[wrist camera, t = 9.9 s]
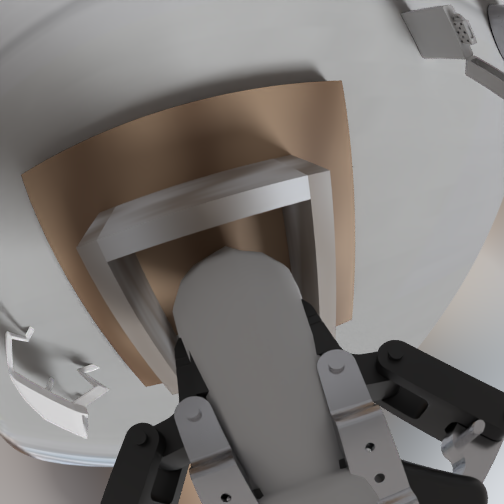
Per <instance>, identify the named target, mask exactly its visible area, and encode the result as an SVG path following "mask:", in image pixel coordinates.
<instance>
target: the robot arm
mask: <svg viewBox="0 0 504 504" xmlns="http://www.w3.org/2000/svg"><path fill="white" fill-rule="evenodd" d="M488 15H489V21H490V25H491V28H492V32H493V35H494V38H495V41H496V43H497V46H498V48H499V50H500V53H501V55H502V56H503V58H504V5H489V7H488ZM301 301H302V304H303V307H304V310H305V313H306V317H307V320H308V323H309V326H310V328H311V331H312V334H313V338H314V343H315V349H316V354H317V355H320V358H319V360H318V363H317V371H318V374H319V378H320V381H321V384H322V388H323V391H324V395H325V399H326V402H327V406H328V409H329V413H330V416H331V420H332V424H333V427H334V431H335V435H336V439H337V442H338V446H339V449H340V451H341V453H342V456H343V458H342V459H340V460H339V466H340V469H343V468H346V469H347V470H349V471H350V473H351V474H353V475H357V476H360V477H364V478H365V479H366V480H367V482H368V483H369V484H370V485H371V486H372V488H373V489H374V491H375V492H376V494H377V495H378V497H379V501H378V502H377V504H487V502H488V496H487V491H486V488H485V486H484V485H483V481H484V479H485V477H486V476H487V474H488V472H489V470H490V468H491V466H492V464H493V462H494V460H495V458H496V456H497V453H498V451H499V449H500V447H501V444H502V442H503V440H504V392H502V391H500V390H498V389H496V388H494V387H492V386H490V385H488V384H486V383H484V382H482V381H480V380H478V379H476V378H474V377H472V376H470V375H468V374H466V373H464V372H462V371H460V370H458V369H456V368H454V367H452V366H450V365H448V364H446V363H444V362H442V361H440V360H438V359H436V358H434V357H432V356H430V355H428V354H426V353H424V352H422V351H420V350H419V349H417V348H415V347H413V346H411V345H409V344H407V343H405V342H403V341H399V340H391V341H388V342H386V343H384V344H383V345H382V346H381V347H380V348H379V350H378V352H373V353H367V354H360V355H358V354H351V353H349V352H347V351H345V350H343V349H342V348H341V347H340V346H339V345H338V343H337V342H336V340H335V339H334V337H333V336H332V334H331V333H330V331H329V330H328V328H327V327H326V325H325V324H324V322H322V319H321V318H320V316H319V315H318V314H317V312H316V311H315V309H314V308H313V306H312V305H311V304H310V303H308V302H306V301H305V300H303V299H301ZM174 351H175V360H176V361H175V363H176V373H177V383H178V392H179V404H178V405H177V407H176V409H175V412H174V414H173V415H172V416H171V417H170V418H168V419H166V420H165V421H163V422H161V423H159V424H157V425H155V426H152V425H150V424H148V423H138V424H136V425H134V426H132V427H131V428H130V429H129V430H128V432H127V434H126V436H125V439H124V441H123V444H122V446H121V449H120V451H119V454H118V457H117V459H116V462H115V465H114V467H113V470H112V473H111V475H110V478H109V481H108V484H107V486H106V489H105V492H104V495H103V498H102V501H101V504H178V502H179V499H180V495H181V491H182V488H183V484H184V481H185V477H186V474H187V470H188V467H189V464H190V463H191V468H190V469H189V472H190V477H191V480H192V482H193V484H194V487H195V489H196V491H197V494H198V495H199V498H200V500H201V503H202V504H259V503H260V502H259V499H261V498H262V497H263V496H264V495H263V493H262V492H261V490H260V488H258V489H254V490H253V488H252V486H251V484H250V482H249V480H250V479H249V477H248V475H247V473H246V471H245V470H244V468H243V466H242V464H241V462H240V460H239V459H238V457H237V455H236V453H235V451H234V449H233V447H232V445H231V443H230V441H229V439H228V437H227V435H226V433H225V431H224V429H223V427H222V425H221V423H220V421H219V419H218V417H217V415H216V413H215V411H214V409H213V407H212V406H211V404H210V403H209V402H208V401H207V399H206V396H207V394H208V392H209V390H208V388H207V386H206V384H205V382H204V380H203V378H202V376H201V374H200V372H199V370H198V368H197V366H196V364H195V362H194V360H193V357H192V355H191V353H190V351H189V354H190V359H189V357H188V354H187V352H186V349H185V347H184V344H183V341H182V339H181V338H178V340H177V343H176V346H175V348H174ZM190 361H191V362H190ZM373 402H374V403H376V404H374V403H373ZM380 406H381V407H382V408H384V409H386V410H387V411H389V412H391V413H392V414H394V415H396V416H397V417H399V418H401V419H402V420H404V421H406V422H408V423H409V424H411V425H413V426H415V427H416V428H418V429H420V430H422V431H423V432H425V433H427V434H429V435H431V436H432V437H434V438H436V439H438V440H440V441H442V445H441V450H442V453H443V455H444V457H445V458H447V459H448V460H449V461H450V462H451V464H452V467H453V473H450V472H446V471H441V470H437V469H433V468H429V467H425V466H422V465H418V464H415V463H411V462H408V461H404V460H401V459H400V456H399V453H398V451H397V448H396V445H395V442H394V440H393V437H392V434H391V432H390V429H389V427H388V424H387V421H386V419H385V416H384V414H383V412H382V409H381V408H380ZM370 449H371V452H370ZM375 476H379V477H380V478H381V483H377V482H375V480H374V478H375Z"/></svg>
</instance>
